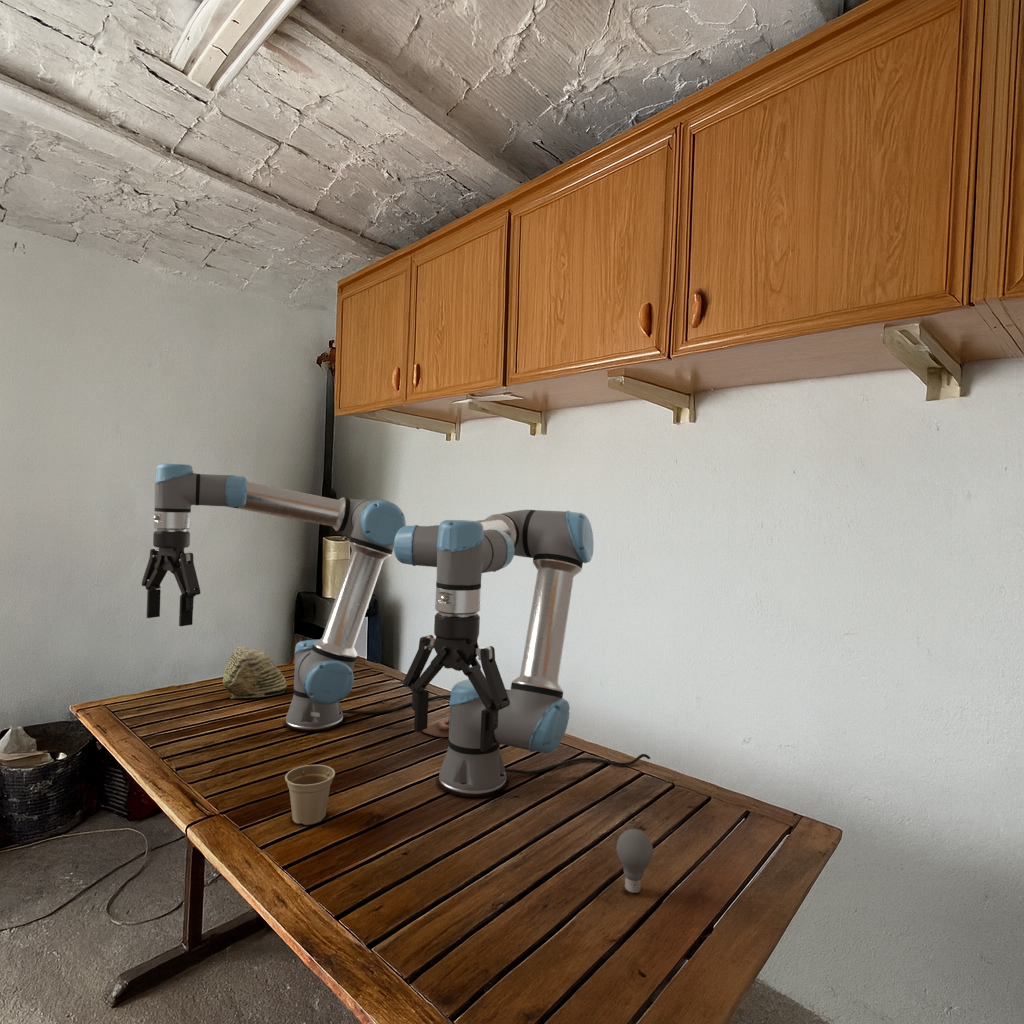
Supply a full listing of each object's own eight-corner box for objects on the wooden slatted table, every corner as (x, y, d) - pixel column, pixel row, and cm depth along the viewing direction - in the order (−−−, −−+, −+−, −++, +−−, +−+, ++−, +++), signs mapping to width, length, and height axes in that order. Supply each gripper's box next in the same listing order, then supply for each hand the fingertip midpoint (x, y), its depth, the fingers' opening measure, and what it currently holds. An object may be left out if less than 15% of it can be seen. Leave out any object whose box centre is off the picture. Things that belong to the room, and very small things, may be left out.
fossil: (218, 695, 195) (220, 647, 195) (278, 685, 208) (279, 640, 207) (228, 703, 189) (230, 653, 188) (289, 692, 201) (290, 645, 201)
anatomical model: (417, 719, 171) (431, 706, 182) (417, 734, 171) (430, 720, 182) (465, 725, 168) (476, 711, 179) (464, 740, 168) (475, 725, 179)
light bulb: (610, 879, 108) (613, 822, 108) (644, 879, 109) (647, 822, 109) (619, 902, 102) (622, 840, 102) (655, 901, 103) (658, 840, 103)
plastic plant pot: (273, 820, 124) (274, 776, 123) (311, 801, 132) (313, 760, 131) (305, 835, 119) (307, 789, 118) (343, 815, 126) (345, 772, 126)
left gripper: (127, 527, 151) (124, 616, 151) (187, 534, 137) (183, 631, 138) (158, 526, 157) (156, 612, 157) (219, 533, 144) (215, 626, 144)
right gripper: (385, 606, 109) (381, 728, 109) (509, 626, 96) (504, 765, 96) (413, 601, 115) (409, 716, 116) (533, 619, 102) (528, 749, 103)
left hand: (169, 621), depth 147 cm, fingers open, 13 cm apart
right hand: (452, 739), depth 106 cm, fingers open, 13 cm apart
